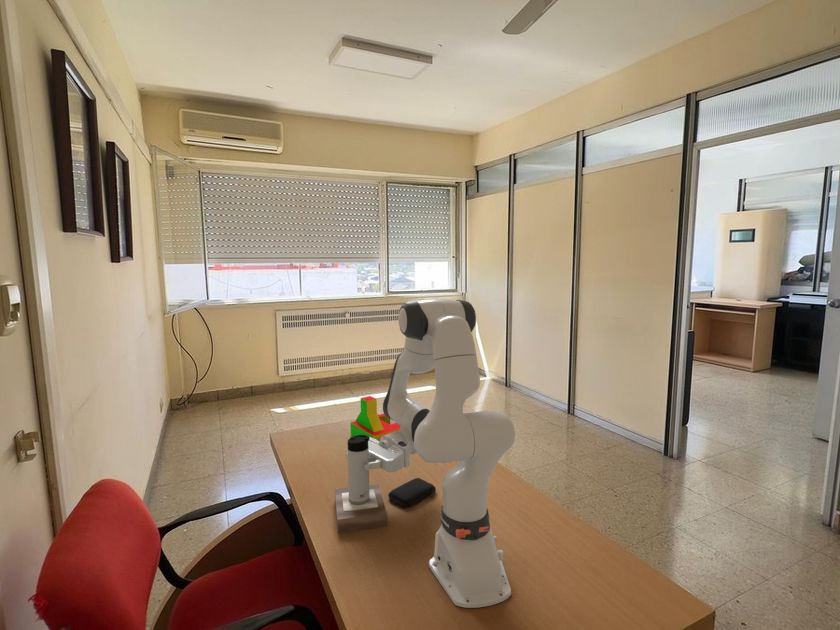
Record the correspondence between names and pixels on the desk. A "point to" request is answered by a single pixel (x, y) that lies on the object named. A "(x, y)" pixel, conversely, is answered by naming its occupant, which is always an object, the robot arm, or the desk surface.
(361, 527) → the walnut riser
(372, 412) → the building blocks toy
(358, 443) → the travel mug
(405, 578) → the desk surface
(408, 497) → the carrying case or bag
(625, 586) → the desk surface
